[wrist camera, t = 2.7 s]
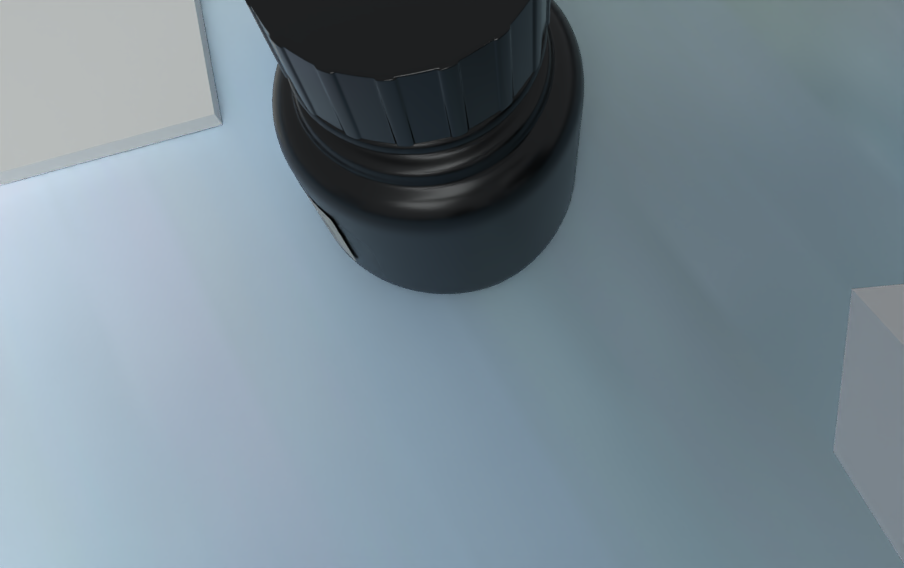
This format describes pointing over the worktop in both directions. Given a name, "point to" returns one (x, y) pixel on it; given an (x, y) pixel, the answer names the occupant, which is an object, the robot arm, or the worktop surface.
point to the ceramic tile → (99, 80)
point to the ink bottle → (429, 130)
